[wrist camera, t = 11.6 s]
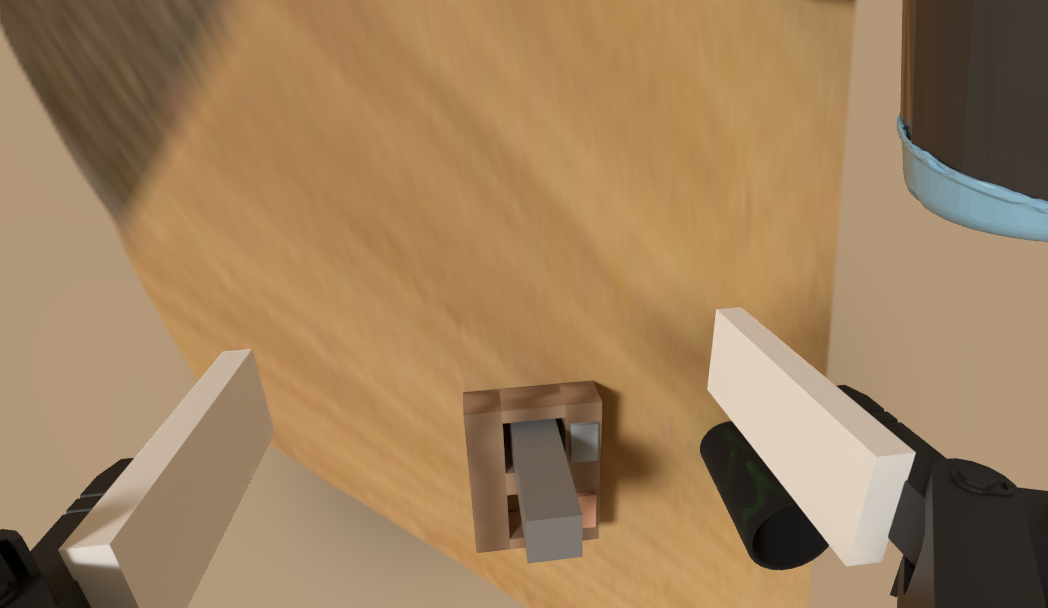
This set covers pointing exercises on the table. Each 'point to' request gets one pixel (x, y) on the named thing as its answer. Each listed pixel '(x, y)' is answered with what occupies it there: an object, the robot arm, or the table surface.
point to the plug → (545, 492)
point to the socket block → (495, 464)
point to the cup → (759, 502)
